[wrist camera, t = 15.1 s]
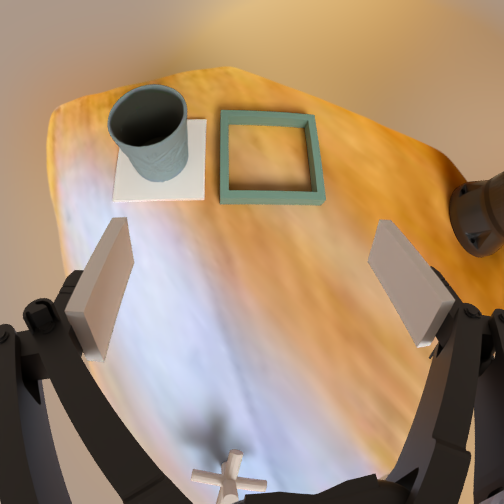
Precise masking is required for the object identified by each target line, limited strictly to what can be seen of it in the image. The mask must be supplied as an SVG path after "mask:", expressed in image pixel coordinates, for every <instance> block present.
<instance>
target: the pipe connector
mask: <svg viewBox="0 0 504 504" xmlns="http://www.w3.org/2000/svg"><path fill="white" fill-rule="evenodd" d="M242 457H243V452H242V451H240V450H236V449H232V450H230V452H229V456H228V460H227V461H226V462H223V463H222V465H221V472H222V474H217V473H212V472H206V471H201V470H196V469H193V471H192V476H191V481H195V482H200V483H205V484H210V485H216V486H221V487H220V491H219V495H218V498H217V502H216V504H232V503H235V502H237V501H238V493H237V489H243V490H251V491H260V492H265V491H266V488H267V481H266V480H258V479H250V478H242V477H237V475H238V472H239V468H240V464H241V461H242Z"/></svg>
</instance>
